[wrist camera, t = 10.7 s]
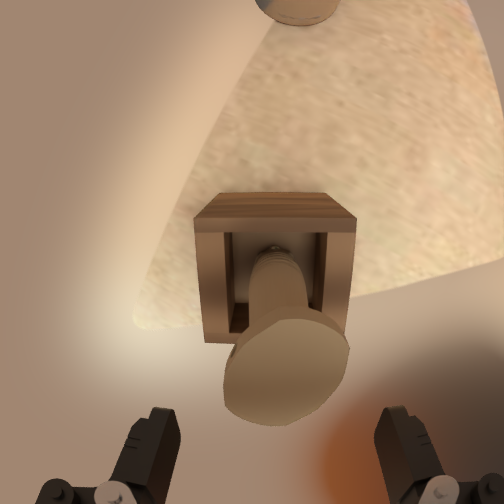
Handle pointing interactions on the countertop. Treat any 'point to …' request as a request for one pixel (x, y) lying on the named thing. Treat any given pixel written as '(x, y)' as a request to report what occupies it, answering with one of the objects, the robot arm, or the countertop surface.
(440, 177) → the countertop surface
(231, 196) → the wooden box
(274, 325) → the handle
